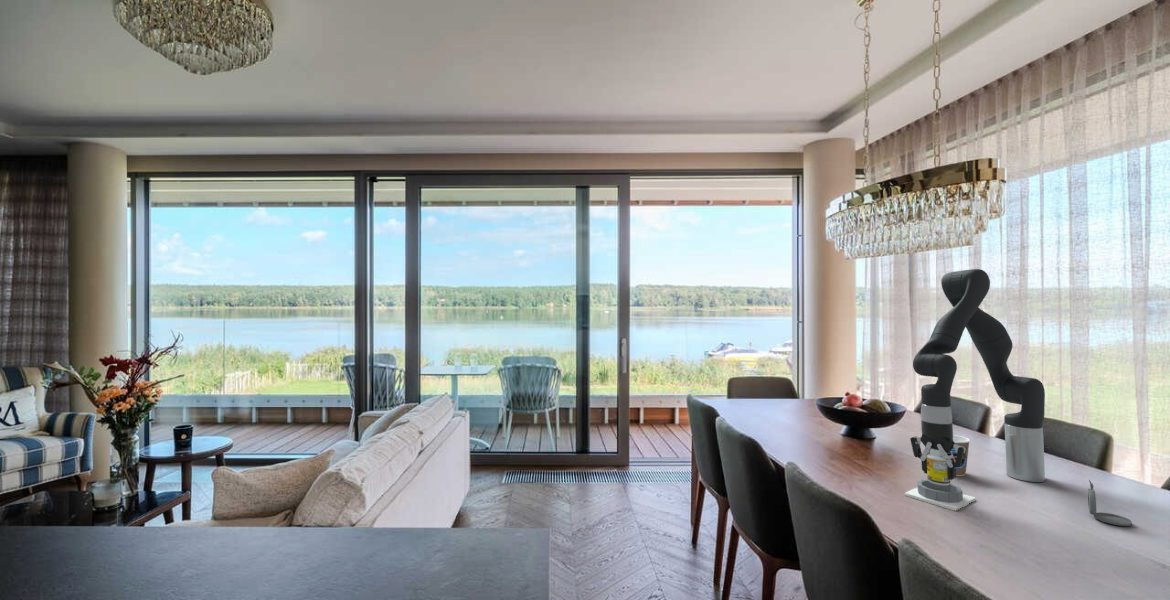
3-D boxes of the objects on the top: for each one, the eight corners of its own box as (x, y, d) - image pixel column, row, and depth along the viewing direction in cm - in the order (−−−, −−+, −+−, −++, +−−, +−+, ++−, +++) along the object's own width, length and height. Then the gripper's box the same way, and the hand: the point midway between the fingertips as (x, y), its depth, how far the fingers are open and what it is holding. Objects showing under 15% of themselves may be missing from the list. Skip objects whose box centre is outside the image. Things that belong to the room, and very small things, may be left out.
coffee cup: (939, 476, 155) (937, 440, 155) (929, 466, 164) (927, 432, 164) (977, 479, 151) (975, 443, 151) (964, 469, 160) (963, 434, 161)
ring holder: (925, 486, 147) (924, 475, 147) (975, 500, 135) (975, 488, 135) (904, 495, 140) (904, 483, 140) (956, 511, 129) (955, 498, 129)
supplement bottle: (928, 477, 142) (926, 444, 142) (950, 481, 138) (949, 447, 138) (926, 483, 137) (925, 449, 138) (950, 487, 134) (948, 452, 134)
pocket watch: (1140, 528, 117) (1138, 489, 117) (1100, 526, 118) (1098, 487, 119) (1110, 514, 125) (1108, 477, 125) (1073, 512, 126) (1072, 475, 127)
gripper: (971, 422, 134) (973, 480, 134) (915, 413, 146) (917, 466, 146) (959, 426, 130) (962, 486, 130) (903, 417, 142) (905, 471, 142)
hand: (938, 475), depth 138 cm, fingers closed on supplement bottle, 5 cm apart
